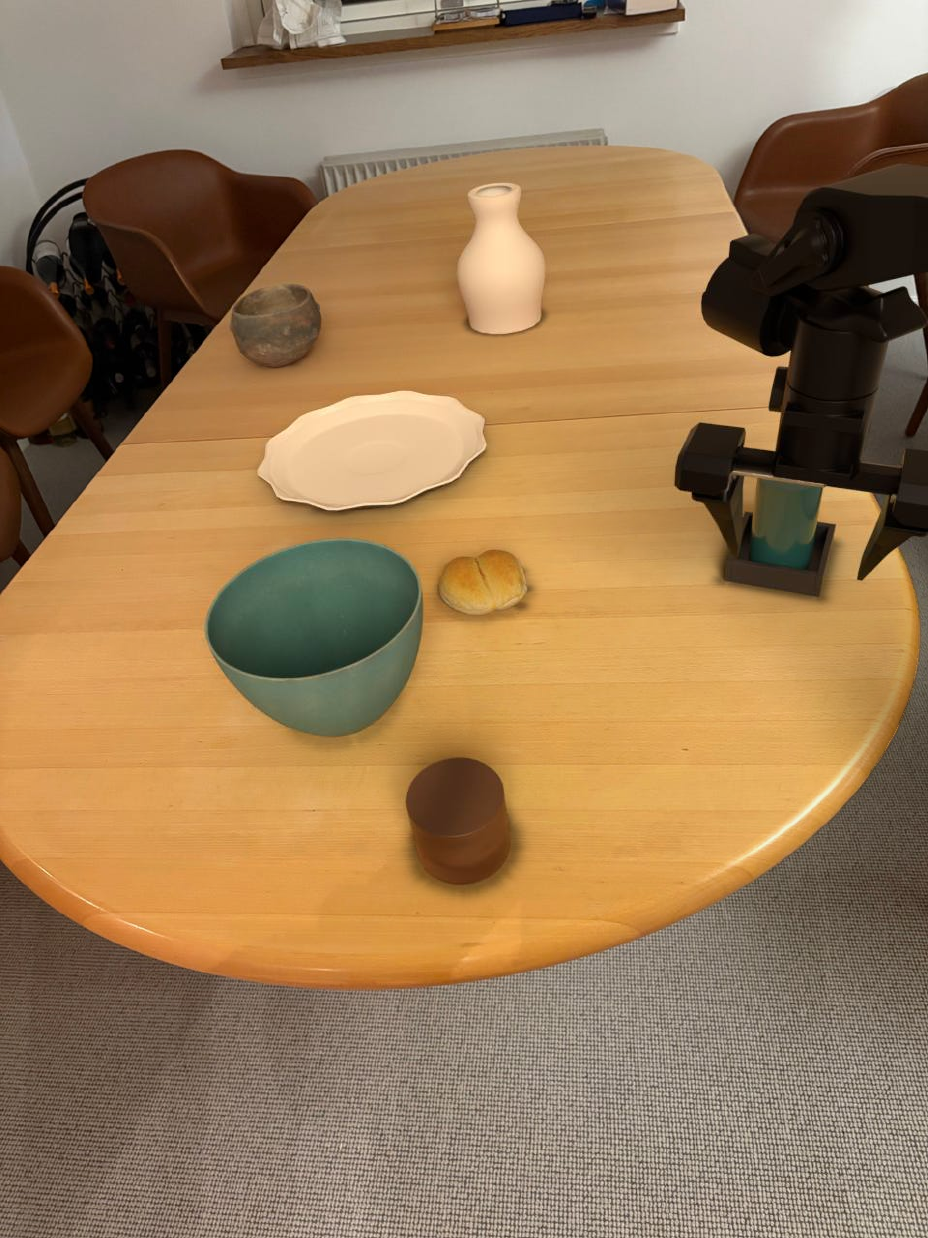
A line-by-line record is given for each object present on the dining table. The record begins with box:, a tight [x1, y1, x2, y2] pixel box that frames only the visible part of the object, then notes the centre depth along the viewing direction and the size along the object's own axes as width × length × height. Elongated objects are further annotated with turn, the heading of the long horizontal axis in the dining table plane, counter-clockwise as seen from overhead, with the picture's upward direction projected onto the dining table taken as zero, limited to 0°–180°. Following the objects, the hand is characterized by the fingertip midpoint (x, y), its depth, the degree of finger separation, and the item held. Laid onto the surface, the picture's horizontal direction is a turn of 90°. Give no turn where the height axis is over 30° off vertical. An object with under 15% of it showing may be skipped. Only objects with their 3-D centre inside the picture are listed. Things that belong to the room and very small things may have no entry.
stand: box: [405, 757, 512, 886], centre depth 66 cm, size 7×7×6 cm
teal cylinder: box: [748, 478, 824, 570], centre depth 86 cm, size 6×6×10 cm
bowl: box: [229, 283, 322, 368], centre depth 140 cm, size 14×15×10 cm
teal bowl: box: [204, 537, 424, 738], centre depth 77 cm, size 18×18×12 cm
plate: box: [256, 390, 488, 513], centre depth 114 cm, size 29×29×2 cm
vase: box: [456, 182, 547, 335], centre depth 139 cm, size 14×14×20 cm
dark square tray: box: [723, 511, 837, 598], centre depth 88 cm, size 9×9×2 cm
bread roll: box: [437, 549, 528, 616], centre depth 90 cm, size 8×9×4 cm
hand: (796, 565), depth 68 cm, fingers open, 9 cm apart
